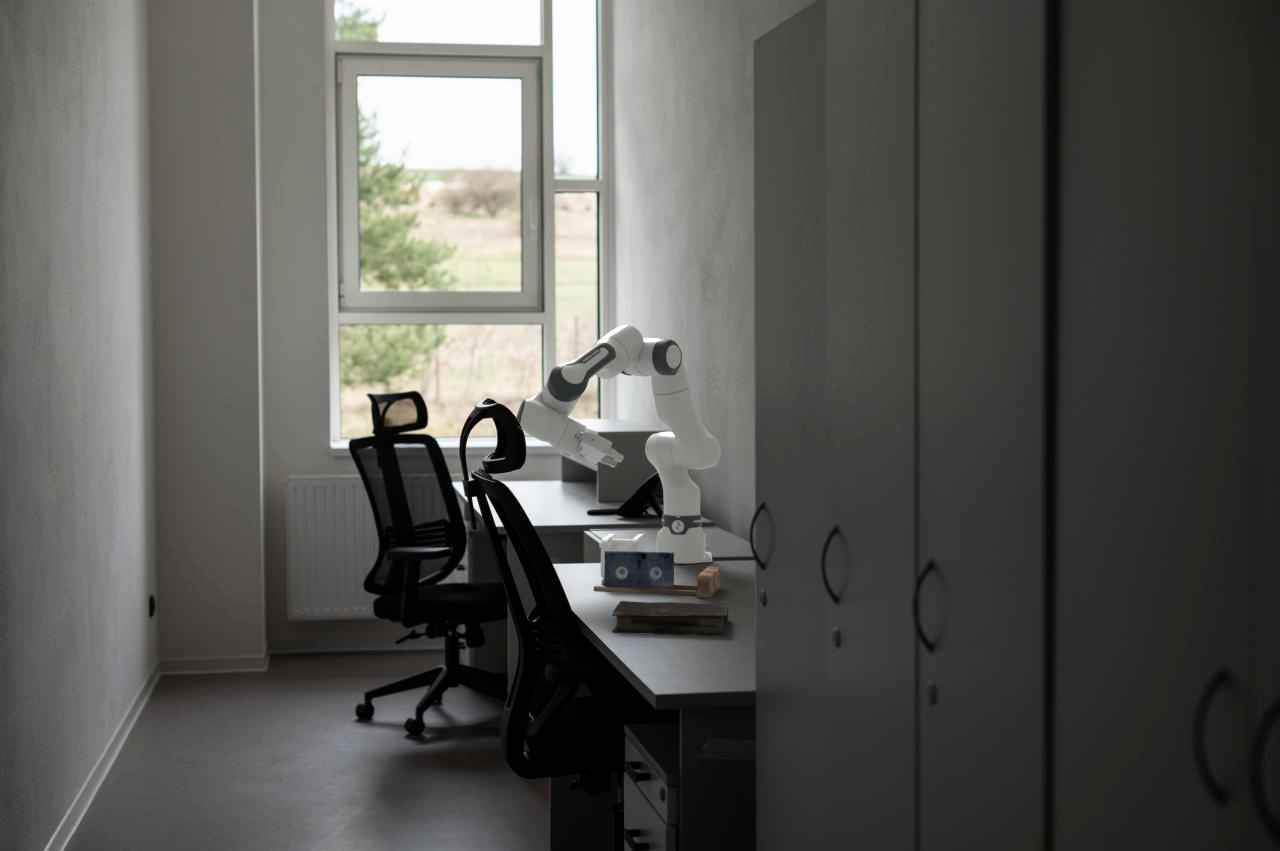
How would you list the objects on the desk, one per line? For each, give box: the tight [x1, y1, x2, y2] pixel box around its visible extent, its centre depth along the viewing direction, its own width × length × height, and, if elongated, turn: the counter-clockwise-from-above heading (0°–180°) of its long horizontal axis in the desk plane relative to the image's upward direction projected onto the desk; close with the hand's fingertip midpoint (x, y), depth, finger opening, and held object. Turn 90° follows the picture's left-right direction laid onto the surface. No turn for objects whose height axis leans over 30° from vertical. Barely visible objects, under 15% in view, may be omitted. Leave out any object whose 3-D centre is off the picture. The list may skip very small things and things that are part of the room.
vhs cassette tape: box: [603, 551, 675, 590], centre depth 332 cm, size 18×3×10 cm, turn 86°
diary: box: [611, 600, 729, 637], centre depth 284 cm, size 19×25×5 cm
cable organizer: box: [598, 533, 646, 579], centre depth 351 cm, size 15×11×12 cm
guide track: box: [593, 565, 721, 599], centre depth 331 cm, size 16×31×6 cm, turn 77°
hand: (619, 462), depth 335 cm, fingers open, 8 cm apart
